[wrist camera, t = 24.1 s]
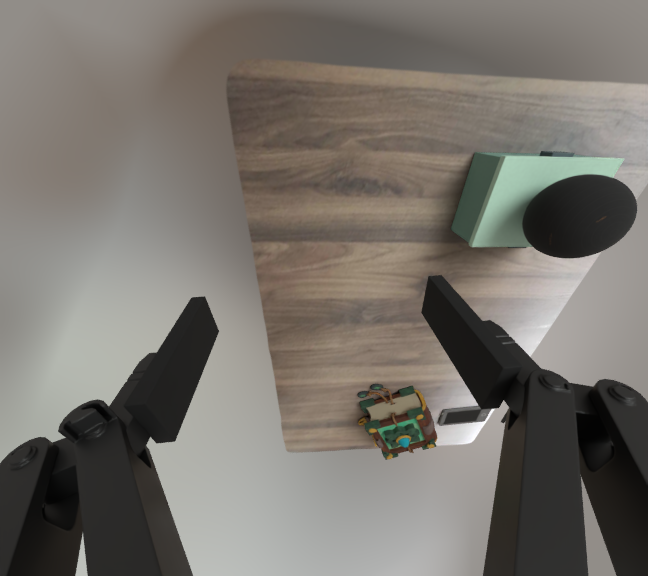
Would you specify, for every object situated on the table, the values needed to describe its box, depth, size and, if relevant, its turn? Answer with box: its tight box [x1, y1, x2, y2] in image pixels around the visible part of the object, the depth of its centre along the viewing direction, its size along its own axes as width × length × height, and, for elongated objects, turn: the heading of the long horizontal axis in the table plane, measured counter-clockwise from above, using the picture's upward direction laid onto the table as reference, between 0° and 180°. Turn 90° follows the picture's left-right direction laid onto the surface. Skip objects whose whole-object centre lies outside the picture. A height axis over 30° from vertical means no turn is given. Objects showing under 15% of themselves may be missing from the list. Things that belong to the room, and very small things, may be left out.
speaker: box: [522, 174, 637, 258], centre depth 31 cm, size 10×10×10 cm
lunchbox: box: [451, 151, 624, 248], centre depth 38 cm, size 16×13×7 cm
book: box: [358, 384, 437, 459], centre depth 70 cm, size 27×21×10 cm
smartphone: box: [439, 406, 491, 426], centre depth 79 cm, size 15×8×1 cm, turn 93°
